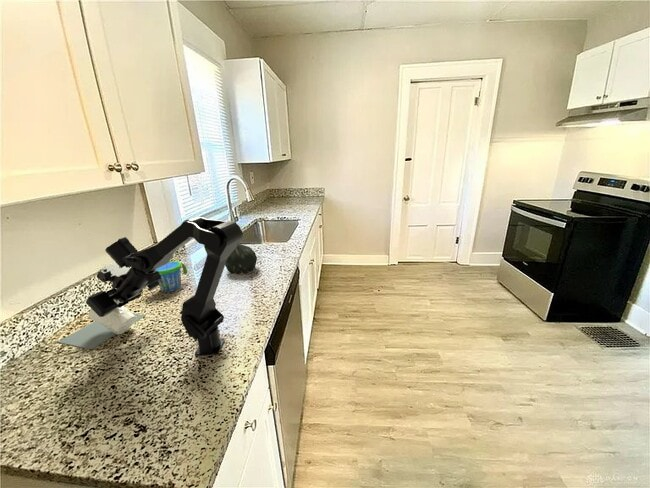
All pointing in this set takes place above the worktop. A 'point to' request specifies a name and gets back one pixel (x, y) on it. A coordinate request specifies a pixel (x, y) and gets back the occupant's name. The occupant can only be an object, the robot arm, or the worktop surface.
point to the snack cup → (171, 275)
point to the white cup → (115, 319)
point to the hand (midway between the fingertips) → (114, 305)
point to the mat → (91, 335)
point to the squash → (241, 260)
